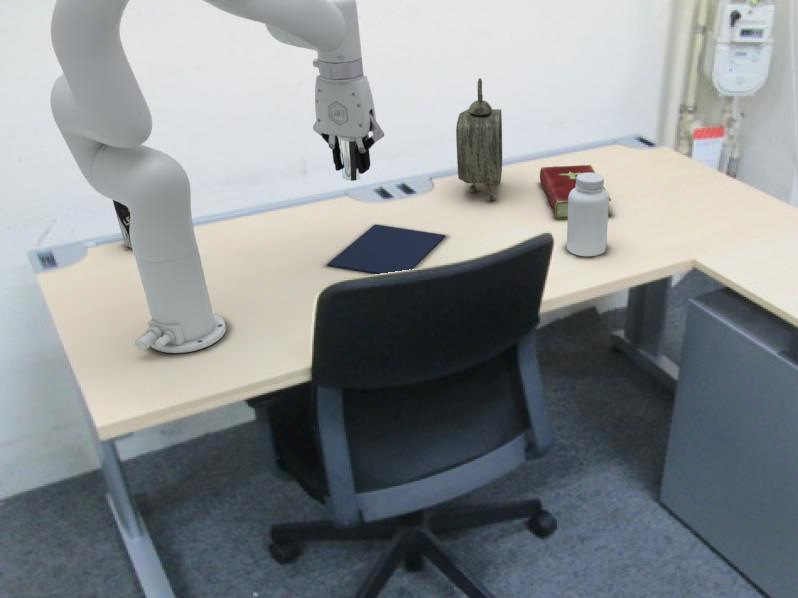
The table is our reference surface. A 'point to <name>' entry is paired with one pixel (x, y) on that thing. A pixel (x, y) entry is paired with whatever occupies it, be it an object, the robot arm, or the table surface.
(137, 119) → the robot arm
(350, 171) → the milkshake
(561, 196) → the hardcover book
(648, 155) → the table surface
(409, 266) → the mouse pad
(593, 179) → the pill bottle
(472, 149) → the tabletop clock
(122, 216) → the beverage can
